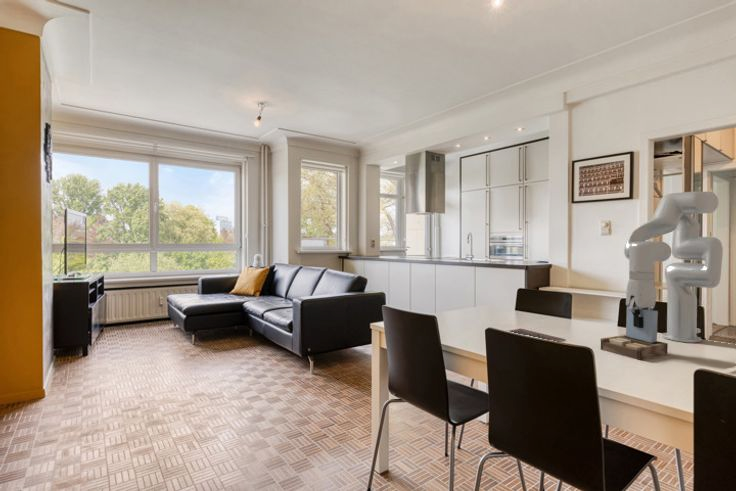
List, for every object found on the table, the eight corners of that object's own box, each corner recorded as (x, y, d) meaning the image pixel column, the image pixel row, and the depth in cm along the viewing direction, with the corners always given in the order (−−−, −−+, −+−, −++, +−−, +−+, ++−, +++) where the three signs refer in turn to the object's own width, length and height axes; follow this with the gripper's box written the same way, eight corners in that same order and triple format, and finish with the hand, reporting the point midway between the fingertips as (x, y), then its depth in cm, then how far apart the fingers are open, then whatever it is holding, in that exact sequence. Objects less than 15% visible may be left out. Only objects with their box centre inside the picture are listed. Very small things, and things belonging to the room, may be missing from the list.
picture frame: (494, 338, 168) (538, 350, 149) (494, 332, 168) (538, 344, 149) (520, 333, 176) (565, 344, 157) (520, 327, 176) (565, 338, 157)
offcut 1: (618, 348, 145) (618, 337, 145) (630, 351, 141) (631, 340, 141) (609, 349, 143) (609, 339, 143) (621, 353, 139) (621, 342, 139)
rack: (627, 347, 150) (627, 334, 150) (667, 357, 137) (667, 343, 137) (600, 352, 144) (600, 338, 144) (639, 363, 131) (640, 348, 131)
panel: (631, 335, 147) (632, 306, 147) (656, 341, 139) (657, 311, 139) (625, 336, 146) (626, 306, 146) (651, 342, 138) (652, 311, 137)
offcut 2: (634, 352, 140) (634, 342, 140) (648, 356, 136) (648, 346, 136) (625, 354, 138) (625, 344, 138) (639, 357, 134) (639, 347, 134)
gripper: (645, 274, 149) (645, 322, 149) (616, 276, 142) (616, 327, 143) (666, 276, 142) (666, 326, 142) (637, 278, 135) (637, 331, 136)
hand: (641, 326), depth 142 cm, fingers closed on panel, 2 cm apart
